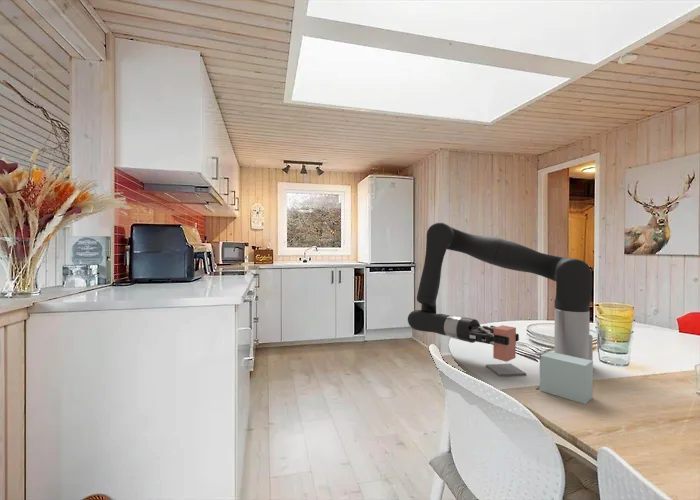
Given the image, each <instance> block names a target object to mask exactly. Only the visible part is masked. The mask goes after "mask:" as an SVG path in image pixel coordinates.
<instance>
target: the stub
mask: <svg viewBox="0 0 700 500" xmlns="http://www.w3.org/2000/svg"><path fill="white" fill-rule="evenodd" d="M494 334H495V336H496V335H500V336H504V337H508V338H509V345H503V344H499V343H493V347H492V348H493V356H492V357H493V358H492V359H495V360H499V361H502V362H506V363H508V362H509V361H512V360H513V359H515V358H516V357H517V355H516V353H517V352H516V349H517V348H516V347H517V345H516V344H517V343H516V342H517V341H516V334H517V328H516V327H514V326H508V325H503V324H502V325H500V326H496V327H495V328H494Z"/></svg>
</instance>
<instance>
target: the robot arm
mask: <svg viewBox="0 0 700 500" xmlns="http://www.w3.org/2000/svg"><path fill="white" fill-rule="evenodd" d="M425 242H426V243H425V245H426V247H425V256H424V264H423V269H422V271H421V272H422V273H421V275H420V282H419V285H418V289H417V290H418V291H417V294H416V301H417V302H418V303H419V304H420V306H421V307H420V309H416V310H412V311H410V312H409V314H408V315H407V323H408V325H409V326H410V328H411V329H413V330H415V331H419V332H427V333H435V334H438V335H441V336H446V337H449V338H451V339H455V340H458V341H463V342H468V343H471V344H472V343H476V342H477V343H482V344H487V345H489V344H494V343H499V344H503V345H509V338H508V337H504V336H500V335H496V336H495V334H494V328H495V327H497V326H495V325H490V326H488V325H482V326H481V325H480V322H479V321H478V320H477V319H475V318H470V317H464V316H459V315H449V314H444V313H437V298H438V294H439V290H440V285H441V275H442V266H443V262H444V258H445V256H446V255H445V254H446V253H447V250H449V251H454V252H459V253H463V254H466V255H467V256H471V258H472V257H473V258H475V259H477V260H480V261H481V262H484V263H487V264H490V265H492V266H496V267H500V268H502V269H506V270H511V271H517V272H522V273H530V274H535V275H538V276H539V277H543V278H545V279H549V280H551V281H553V282H556V285H555V298H554V346H553V349H554V351H553V352H555V353H559V354H564V355H569V356H573V357H578V358H583V359H587V360H592V361H593V357H594V356H593V348H594V347H593V346H594V345H593V343H594V342H593V335H592V334H590V321H591V320H590V309H591V306H590V305H591V303H592V297H593V295H592V290H593V273H592V269H591V268H590V265H588V263H586V262H585V261H584V260H582V259H578V258H571V257H564V256H559V255H558V256H557V255H552V254H548V253H547V254H546V253H542V252H540V251H537V250H535V249H532V248H530V247H527V246H525V245H522V244H519V243H517V242H513V241H510V240H507V239H502V238H498V237H496V236H494V237H493V236H489V235H483V234H482V235H479V234H473V233H469V232H467V231H466V232H465V231H462V230H460V229H457V228H455V227H452V226H450V225H449V224H446V223H445V222H435V223H433V224H431V225H430V226H429V228H428V229H427V231H426V241H425ZM519 340H520V334H518V333H516V342H518V341H519ZM593 362H594V361H593Z"/></svg>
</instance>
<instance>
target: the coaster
mask: <svg viewBox="0 0 700 500" xmlns="http://www.w3.org/2000/svg"><path fill="white" fill-rule="evenodd" d="M485 367H486V368H488V369H489V370H490V371H491V372H492V373H494V374H496V375H497V376H498V377H514V376H515V377H516V376H517V377H519V376H523V377H524V376H527V372H525V371H523V370H522V369H520V368H518V367H517V366H515V365H513V364H512V363H493V364H485Z"/></svg>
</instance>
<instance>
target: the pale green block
mask: <svg viewBox="0 0 700 500" xmlns="http://www.w3.org/2000/svg"><path fill="white" fill-rule="evenodd" d="M538 358H539V385H538V386H537V387H536V388H535V390H538V391H541V392H543V393H547V394H550V395H554V396H557V397H561V398H564V399H568V400H570V401H573V402H577V403H580V404H584V405H587V404H588V403H589V402H590V400H592V399H593V398H594V390H593V389H594V388H593V387H594V385H593V384H594V380H593V379H594V375H593V374H594V361H592V360H587V359H583V358H578V357H573V356H569V355H564V354H559V353H555V352H554V351H550V350H547V351H545V352H543V353H541V354H539V357H538Z"/></svg>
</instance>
